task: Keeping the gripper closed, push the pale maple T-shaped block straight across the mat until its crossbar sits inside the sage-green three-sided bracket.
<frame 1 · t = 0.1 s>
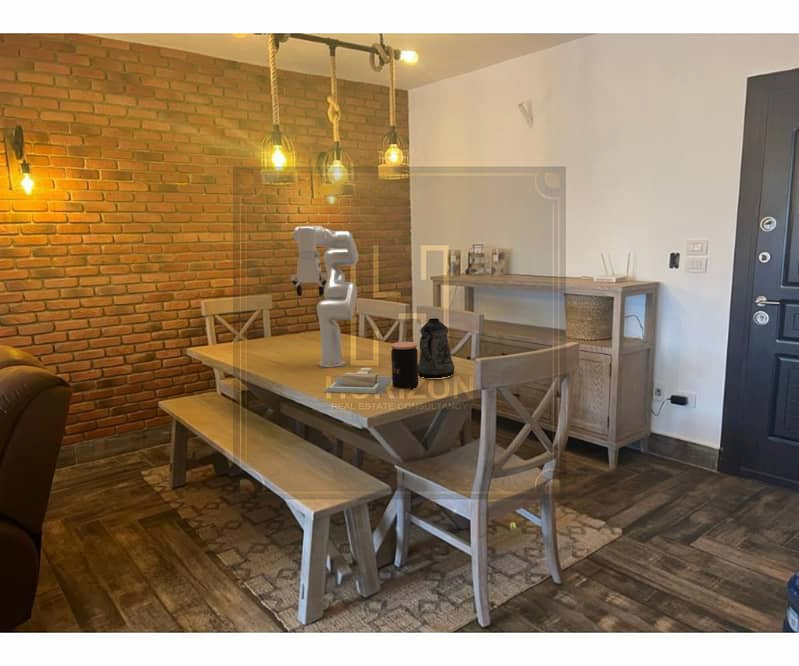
hand: (310, 295, 251), 37 cm above the table, tool pointing down, fingers open, 9 cm apart
coffee jar: (405, 387, 239), on the table
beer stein: (436, 376, 255), on the table
mat: (360, 386, 242), on the table
t block: (363, 381, 246), point 1 cm above the table, touching mat
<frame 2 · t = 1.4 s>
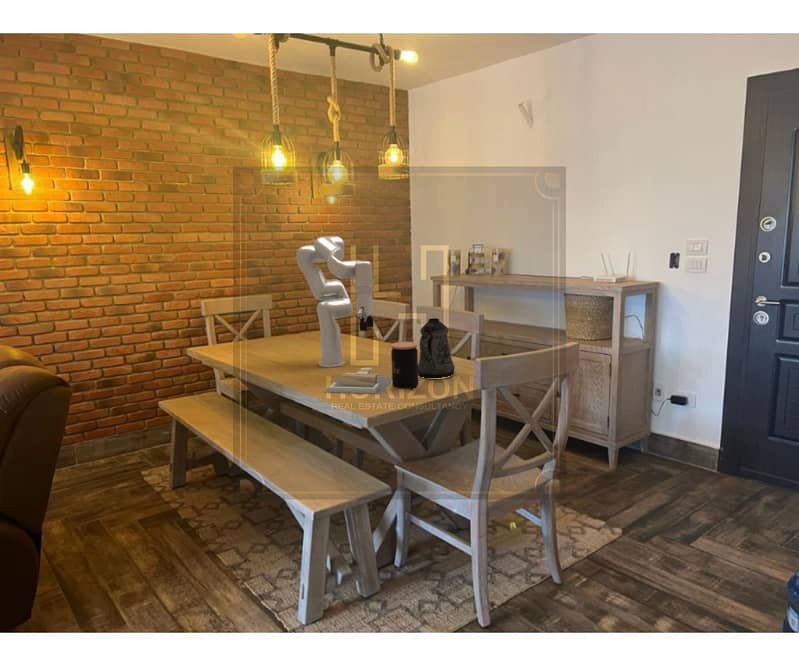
hand: (366, 328, 254), 21 cm above the table, tool pointing down, fingers open, 9 cm apart
nothing on the table moved.
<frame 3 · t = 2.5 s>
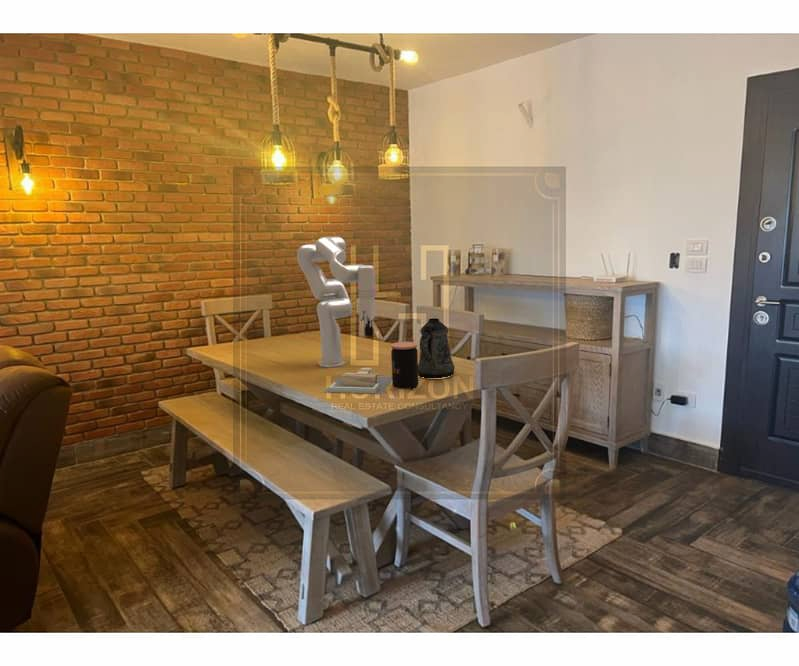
hand: (369, 335, 255), 18 cm above the table, tool pointing down, fingers closed
nothing on the table moved.
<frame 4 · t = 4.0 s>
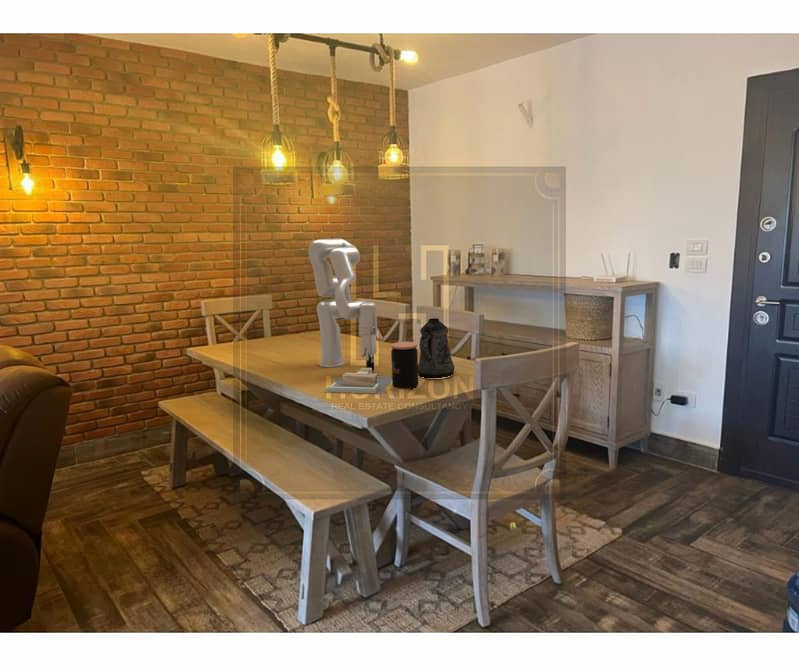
hand: (370, 371, 258), 2 cm above the table, tool pointing down, fingers closed
nothing on the table moved.
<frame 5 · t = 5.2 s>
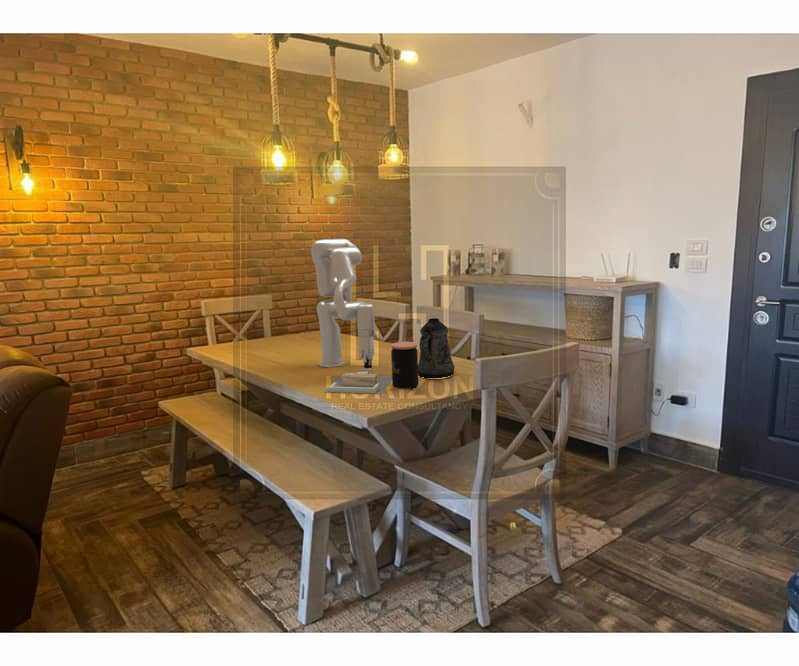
hand: (368, 373, 254), 2 cm above the table, tool pointing down, fingers closed
t block: (362, 381, 246), point 1 cm above the table, touching gripper
everything else where it was.
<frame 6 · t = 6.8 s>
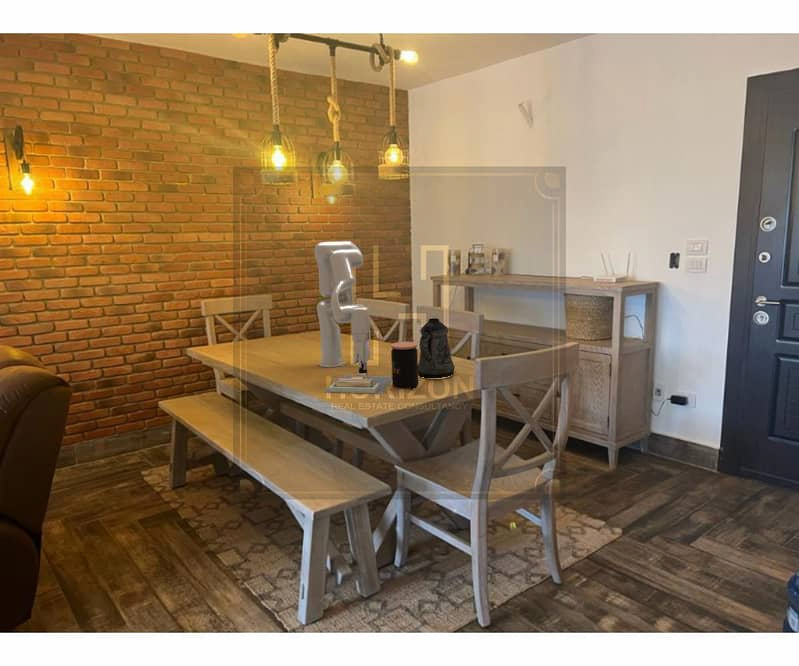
hand: (363, 378, 246), 2 cm above the table, tool pointing down, fingers closed
t block: (357, 386, 238), point 1 cm above the table, touching gripper
everything else where it was.
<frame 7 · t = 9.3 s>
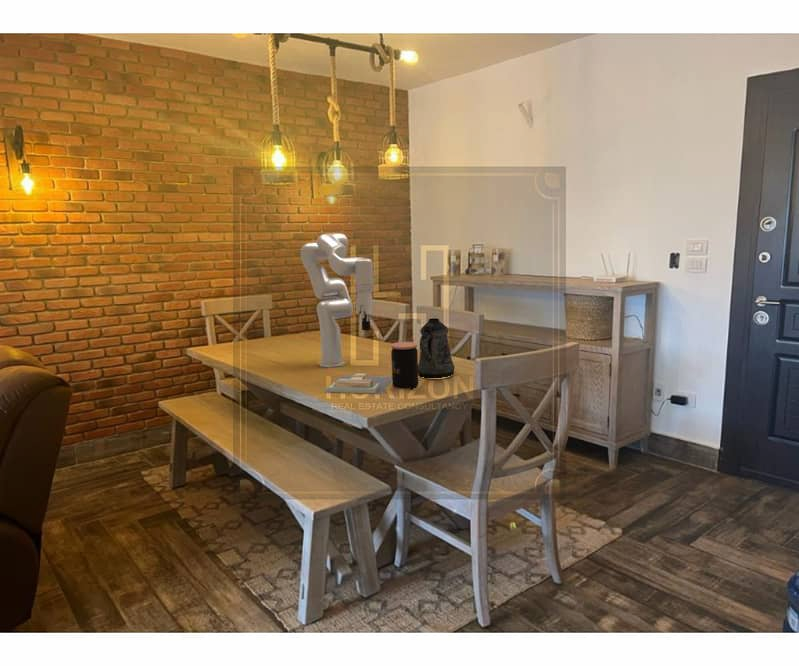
hand: (366, 329, 251), 21 cm above the table, tool pointing down, fingers closed
t block: (357, 387, 237), point 1 cm above the table, touching mat
everything else where it was.
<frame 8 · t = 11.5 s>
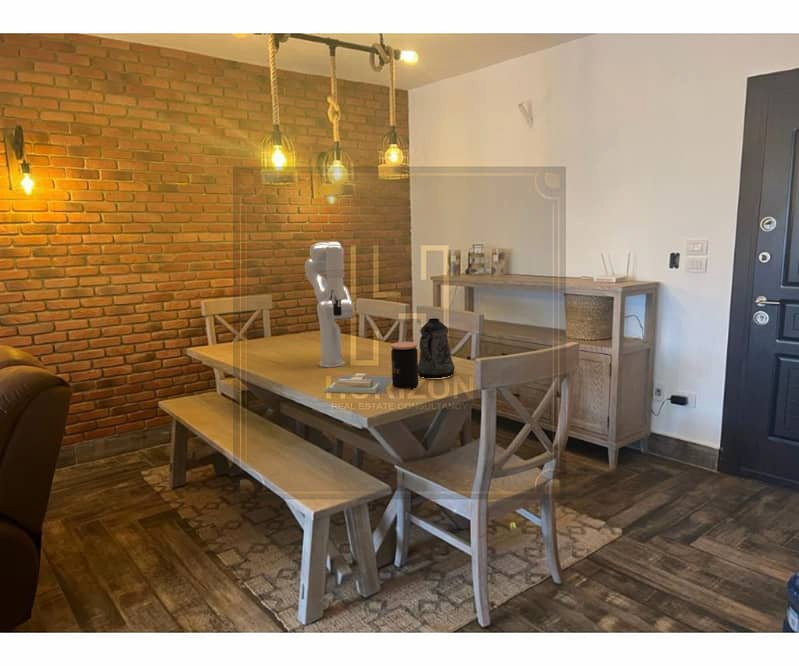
hand: (337, 315, 257), 27 cm above the table, tool pointing down, fingers closed
nothing on the table moved.
at the end: t block 0.3 cm from the target spot on the mat, point 1.0 cm above the mat's base; t block tilted 0° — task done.
